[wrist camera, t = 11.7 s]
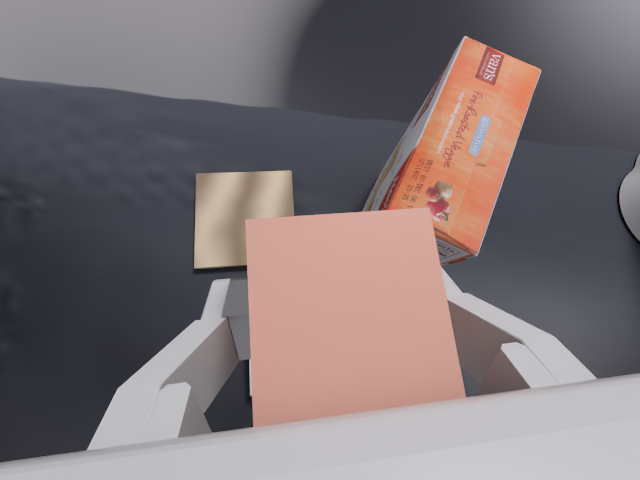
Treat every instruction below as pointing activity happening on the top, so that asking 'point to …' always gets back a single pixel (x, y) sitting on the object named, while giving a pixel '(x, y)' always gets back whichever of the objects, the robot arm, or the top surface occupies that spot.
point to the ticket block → (347, 315)
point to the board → (235, 212)
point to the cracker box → (459, 147)
